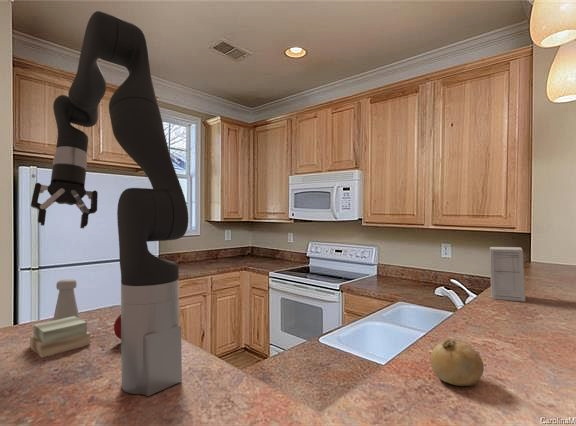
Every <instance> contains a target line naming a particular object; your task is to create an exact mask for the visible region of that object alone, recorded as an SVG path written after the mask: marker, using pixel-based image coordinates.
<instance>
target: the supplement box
mask: <svg viewBox="0 0 576 426" xmlns="http://www.w3.org/2000/svg"><path fill="white" fill-rule="evenodd" d="M489 267H490V268H489V269H490V270H489V271H490V272H489V273H490V274H489V275H490V290H491V291H490V293H491V299H492V300H504V301H515V302H523V303H524V302H526V287H525V285H526V284H525V269H524V250H523V248H522V247H520V246H519V247H514V246H513V247H512V246H490V247H489Z"/></svg>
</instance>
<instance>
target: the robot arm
mask: <svg viewBox="0 0 576 426" xmlns="http://www.w3.org/2000/svg"><path fill="white" fill-rule="evenodd" d="M83 36H84V37H83V40H82V45H81V49H80V54H79V59H78V65H77V71H76V73H75V76H74V79H73V80H72V84H71V85H70V87H69V89H68V95H67V94H61V95H58V96H57V97H55V99H54V101H53V105H52V108H53V113H54V114H53V115H54V119H55V123H56V129H57V139H56V140H57V141H56V148H55V151H54V156H53V160H52V167H51V177H50V184H48V185H46V184H41V183H40V182H35V183H34V188H33V193H32V198H31V202H30V207H31V208H34V209H37V210H38V216H37V223H38V224H40V226H45V222H46V216H47V209H48V208H49V207H50V206H52V205H53V204H54V203H55V202H56V203H57V204H58V205H68V206H73V205H75V206H76V207H77V208H78V210H79V211H80V212H81V213H82V214H81V218H80V225H79V228H80V229H85V227H87V225H88V223H89V215H90V214H91V215H92V214H95V213H96V212H97V211H98V198H99V197H98V191H97V190H92V191H90V190H89V191H88V190H86V188H85V186H86V175H87V165H88V147H89V136H88V134H87V133H86V132H84V131H83V130H81V129H79V128H77V127H75V126H74V125H76V126H79V127H80V126H81V127H83V128H91V127H94V126H95V125H96V124H97V122H98V119H99V104H100V103H101V101H102V99H104V96H105V94H106V91H107V81H106V78H105V76H104V73H103V72H102V70H101V69H102V68H100V65H99V62H98V59H100V60H102V61H106V62H109V63H111V64H115V65H118V66H120V67H121V66H122V67H124V68H125V69H127V71H128V74H129V75H128V76H127V77H126V79H125V80H124V81H123V82H122V83H121V84H120V85H119V86H118V87H117V88H116V90H115V91H113V94H112V95H111V97H110V98H109V99H110V100H109V103H108V111H109V112H108V113H109V118H110V124H111V130H112V133H113V136H114V138H115V140H116V142H117V143H118V144H119V146H120V147H121V149H123V150H124V152H125V153H126V154H127V155H128V156H129V157H130V158H131V159H132V161H134V162H135V163H136V164H137V165H138V166H139V168H140V169H141V170H142V171H143V173H144V174H145V176H147V179H148V181H149V182H150V184H151V188H147V187H145V188H144V187H130V188H129V187H128V188H125V189H124V190H123V191H122V192H121V193H120V196H119V198H118V203H117V209H116V210H117V212H116V215H117V218H116V219H117V233H118V245H119V248H118V249H119V250H118V251H119V268H120V314H121V339H120V346H121V347H120V350H121V351H120V353H121V354H120V355H121V356H120V358H121V361H120V362H121V389H122V391H124V392H125V393H128V394H133V395H144V396H146V397H149V396H152V395H154V394H156V393H158V392H161V391H163V390H165V389H167V388H170V387H173V386H174V385H175V386H176V385H177V384H179V383H181V382H182V381H183V377H182V376H183V373H182V371H183V369H182V367H183V365H182V358H183V357H182V326H181V325H180V308H179V307H180V306H179V305H180V298H179V297H180V295H179V294H180V292H179V291H180V290H179V288H180V287H179V286H180V285H179V283H180V282H179V281H180V280H179V276H180V275H179V274H180V273H179V272H180V271H179V266H178V263H177V262H175V261H172V260H167V259H164V258H161V257H158V256H156V255H154V254H153V253H151V252H150V250H149V248H148V247H149V246H148V243H147V242H161V241H162V242H163V241H164V242H165V241H175V240H179V239H181V238H183V237H184V236H185V234H186V232H187V230H188V228H189V211H188V205H187V201H186V198H185V195H184V192H183V188H182V185H181V183H180V181H179V176H178V175H177V172H176V170H175V166H174V163H173V160H172V157H171V153H170V150H169V145H168V142H167V138H166V133H165V129H164V123H163V119H162V115H161V111H160V107H159V106H160V105H159V104H158V99H157V97H156V92H155V88H154V84H153V78H152V74H151V73H152V72H151V64H150V57H149V50H148V48H149V47H148V43H147V39H146V35H145V33H144V31H143V30H142V28H141V27H139V26H138V25H136V24H135V23H133V22H130V21H127V20H125V19H122V18H120V17H118V16H116V15H113V14H110V13H108V12H105V11H101V10H96V11H95V12H93V13H92V14H91V16H90V18H89V20H88V22H87V24H86V27H85V32H84V35H83ZM72 124H73V125H72ZM45 191H47V193H49V195H50V197H49V198H47V199H46V200H45V201H44V202H43V203H40V202H38V201H39V197H40V194H44V193H45ZM85 196H87V198H88V200H90V208H88V207H87V205H86V203H85V202H84V200H83V198H84V197H85Z"/></svg>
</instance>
